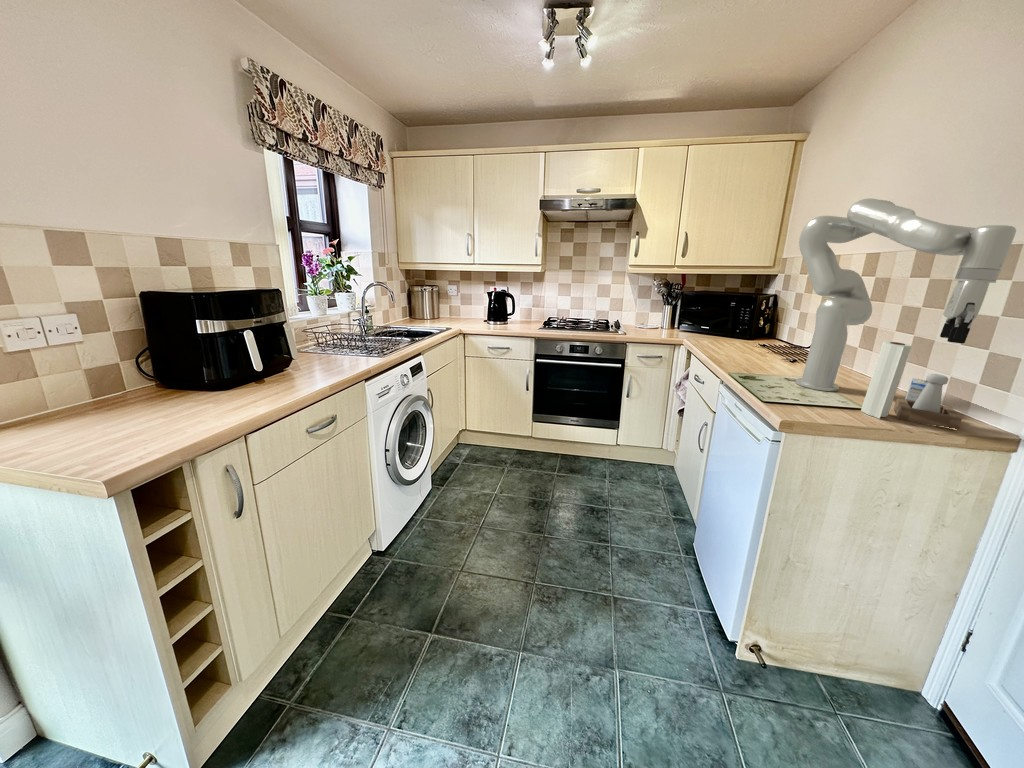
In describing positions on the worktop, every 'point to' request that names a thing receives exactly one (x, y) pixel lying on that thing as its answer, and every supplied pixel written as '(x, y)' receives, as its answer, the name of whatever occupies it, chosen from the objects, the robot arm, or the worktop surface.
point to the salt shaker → (931, 394)
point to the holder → (926, 414)
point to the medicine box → (915, 389)
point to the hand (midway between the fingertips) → (951, 340)
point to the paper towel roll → (885, 378)
